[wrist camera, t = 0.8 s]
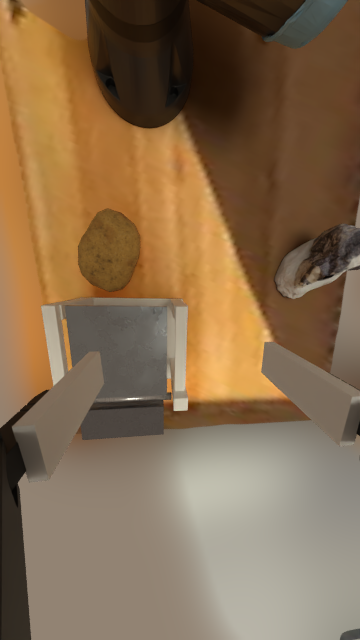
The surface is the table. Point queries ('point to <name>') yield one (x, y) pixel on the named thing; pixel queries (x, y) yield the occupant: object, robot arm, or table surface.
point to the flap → (123, 367)
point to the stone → (319, 261)
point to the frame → (175, 307)
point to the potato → (109, 250)
